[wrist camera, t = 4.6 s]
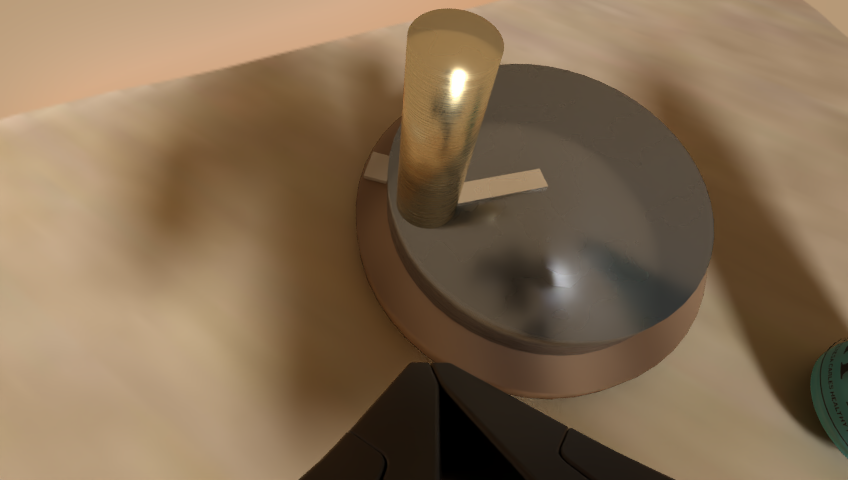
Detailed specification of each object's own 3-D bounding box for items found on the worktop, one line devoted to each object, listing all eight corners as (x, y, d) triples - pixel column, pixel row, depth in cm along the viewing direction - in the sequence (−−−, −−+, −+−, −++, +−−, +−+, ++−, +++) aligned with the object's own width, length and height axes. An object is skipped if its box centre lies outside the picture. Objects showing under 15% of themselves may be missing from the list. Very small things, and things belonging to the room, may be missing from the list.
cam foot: (599, 83, 27) (714, -119, 18) (741, 310, 20) (1038, 179, 11) (358, 117, 24) (345, -106, 14) (436, 397, 17) (501, 316, 8)
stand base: (681, 143, 27) (699, 123, 26) (696, 447, 19) (725, 445, 17) (408, 73, 28) (409, 50, 27) (304, 337, 20) (297, 326, 18)
